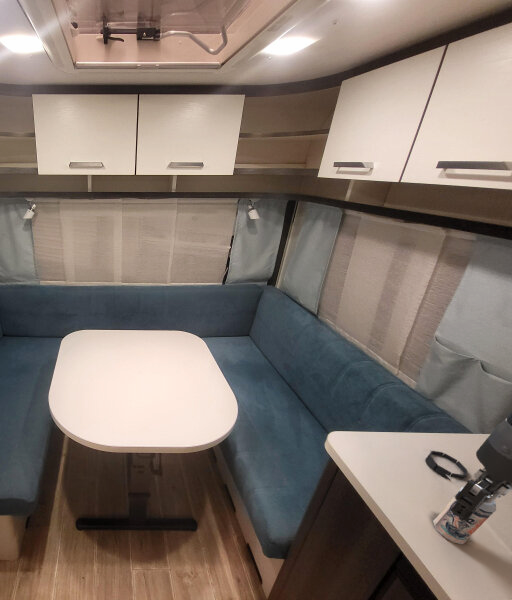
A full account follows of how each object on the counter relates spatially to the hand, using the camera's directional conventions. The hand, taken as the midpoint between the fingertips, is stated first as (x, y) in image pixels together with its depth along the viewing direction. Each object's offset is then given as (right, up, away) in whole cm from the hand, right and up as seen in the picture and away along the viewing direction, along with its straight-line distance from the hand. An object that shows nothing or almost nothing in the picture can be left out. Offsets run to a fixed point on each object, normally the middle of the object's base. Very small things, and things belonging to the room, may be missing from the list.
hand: (467, 509), depth 60 cm
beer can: (0, -7, +3) cm, 8 cm away
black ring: (+14, -1, +17) cm, 22 cm away
